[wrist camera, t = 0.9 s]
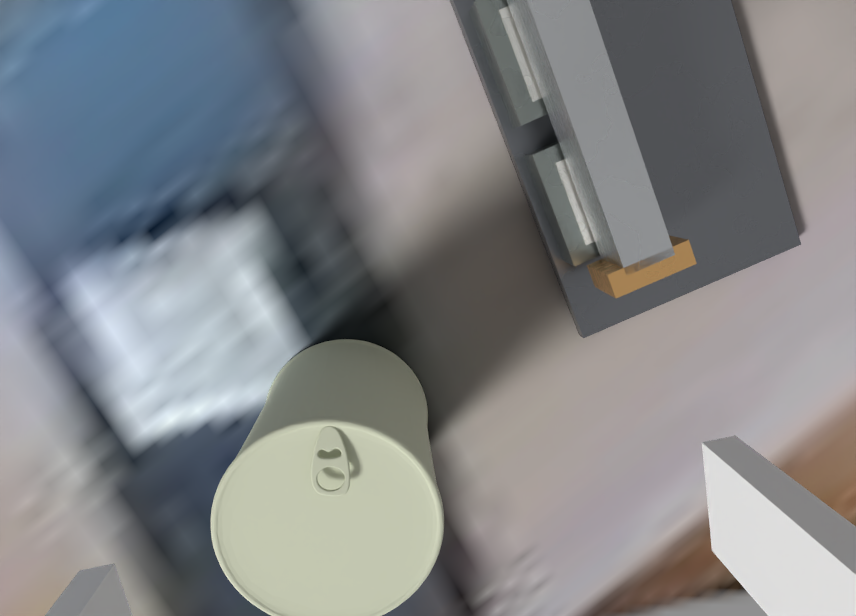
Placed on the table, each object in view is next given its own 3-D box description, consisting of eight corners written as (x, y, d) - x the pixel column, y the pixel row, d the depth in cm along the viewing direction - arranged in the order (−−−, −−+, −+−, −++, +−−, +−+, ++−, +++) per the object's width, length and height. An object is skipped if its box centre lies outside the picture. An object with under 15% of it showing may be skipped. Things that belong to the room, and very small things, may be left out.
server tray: (393, -147, 30) (393, -181, 27) (645, -262, 29) (673, -309, 26) (579, 334, 35) (595, 348, 32) (791, 242, 35) (827, 248, 32)
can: (430, 339, 35) (451, 423, 23) (425, 489, 37) (442, 637, 25) (263, 337, 34) (199, 422, 22) (267, 489, 36) (209, 641, 24)
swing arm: (416, -151, 28) (425, -246, 22) (504, -191, 28) (539, -299, 22) (580, 282, 33) (626, 308, 27) (655, 249, 33) (721, 267, 27)
